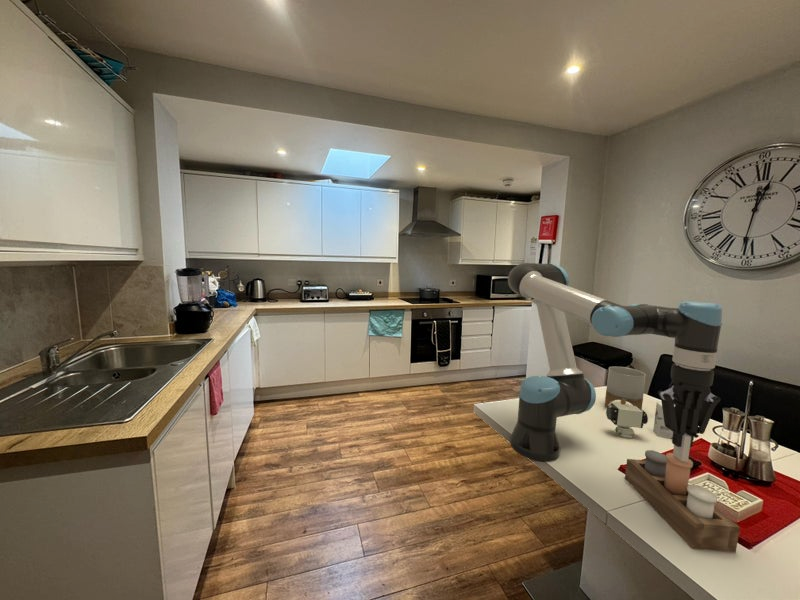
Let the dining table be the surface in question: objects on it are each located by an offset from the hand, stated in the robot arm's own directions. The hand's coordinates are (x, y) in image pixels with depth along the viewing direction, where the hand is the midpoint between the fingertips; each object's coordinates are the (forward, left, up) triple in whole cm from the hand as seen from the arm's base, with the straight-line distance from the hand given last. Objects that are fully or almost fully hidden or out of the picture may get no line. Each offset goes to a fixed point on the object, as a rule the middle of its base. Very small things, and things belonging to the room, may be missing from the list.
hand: (680, 458), depth 78 cm
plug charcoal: (0, +7, -13) cm, 15 cm away
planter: (+23, +59, -14) cm, 65 cm away
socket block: (0, 0, -14) cm, 14 cm away
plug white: (0, -7, -13) cm, 15 cm away
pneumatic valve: (+11, +37, -14) cm, 41 cm away
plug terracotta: (0, 0, -10) cm, 10 cm away
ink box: (+28, +39, -14) cm, 50 cm away
